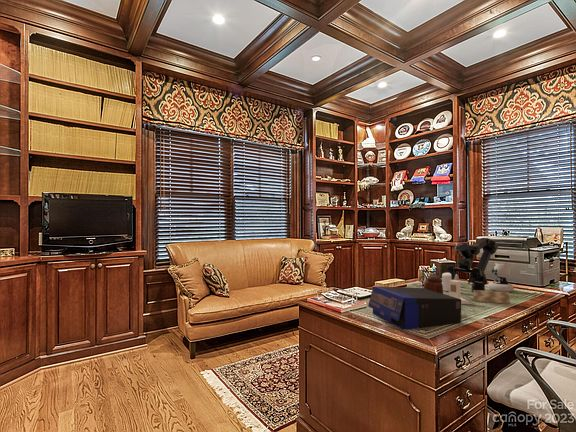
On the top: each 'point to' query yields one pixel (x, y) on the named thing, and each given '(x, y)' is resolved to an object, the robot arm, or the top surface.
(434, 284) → the wooden figurine
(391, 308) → the headphone box
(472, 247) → the robot arm
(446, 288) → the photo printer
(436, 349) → the top surface
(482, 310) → the top surface
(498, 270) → the decorative figurine
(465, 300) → the pad
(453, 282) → the plain beige block
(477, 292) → the birch partition
